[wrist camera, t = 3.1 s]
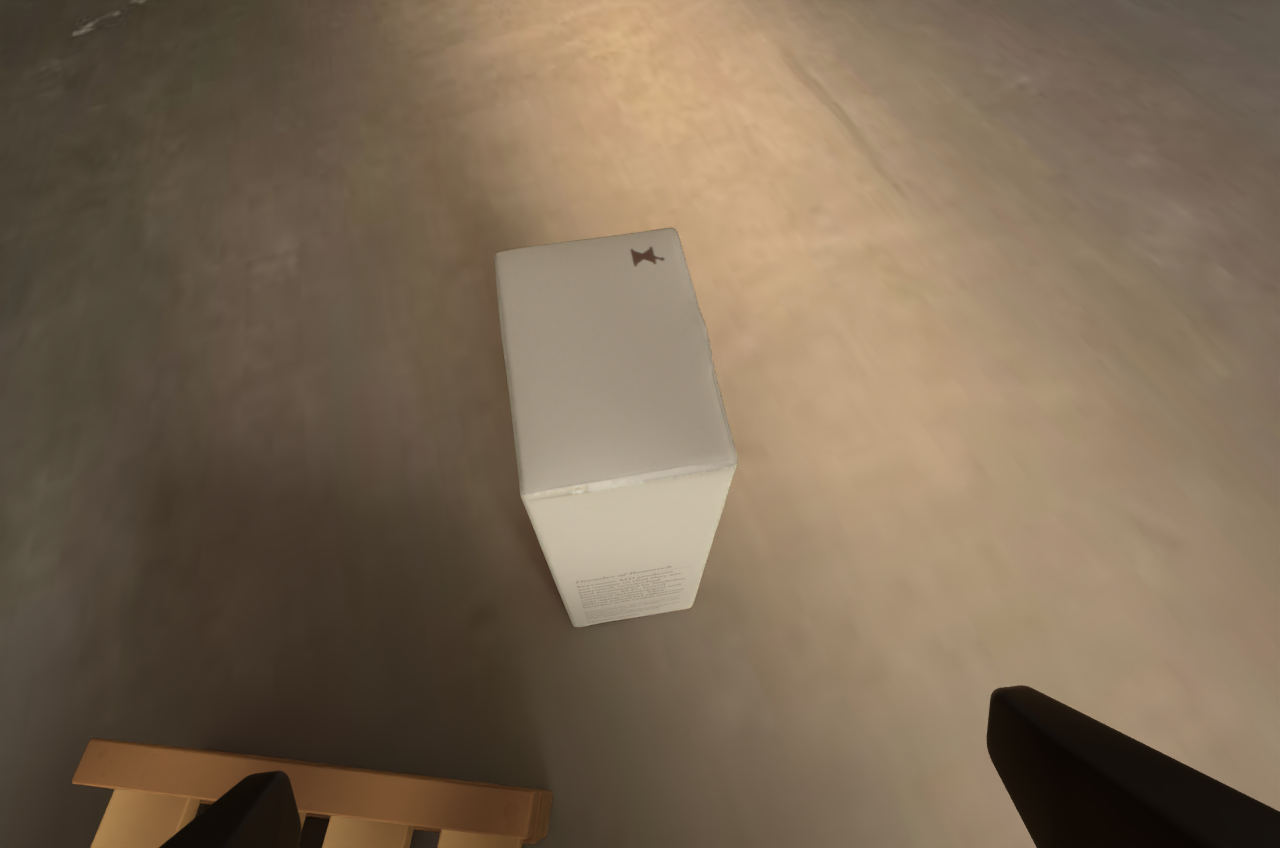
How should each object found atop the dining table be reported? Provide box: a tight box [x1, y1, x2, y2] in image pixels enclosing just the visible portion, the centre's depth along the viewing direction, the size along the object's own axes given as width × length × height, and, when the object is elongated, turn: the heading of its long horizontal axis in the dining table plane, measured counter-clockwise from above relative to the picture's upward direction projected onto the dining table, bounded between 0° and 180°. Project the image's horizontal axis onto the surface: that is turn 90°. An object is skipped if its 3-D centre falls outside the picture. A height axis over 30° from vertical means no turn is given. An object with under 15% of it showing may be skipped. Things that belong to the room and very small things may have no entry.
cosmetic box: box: [495, 228, 737, 627], centre depth 19 cm, size 6×4×12 cm
